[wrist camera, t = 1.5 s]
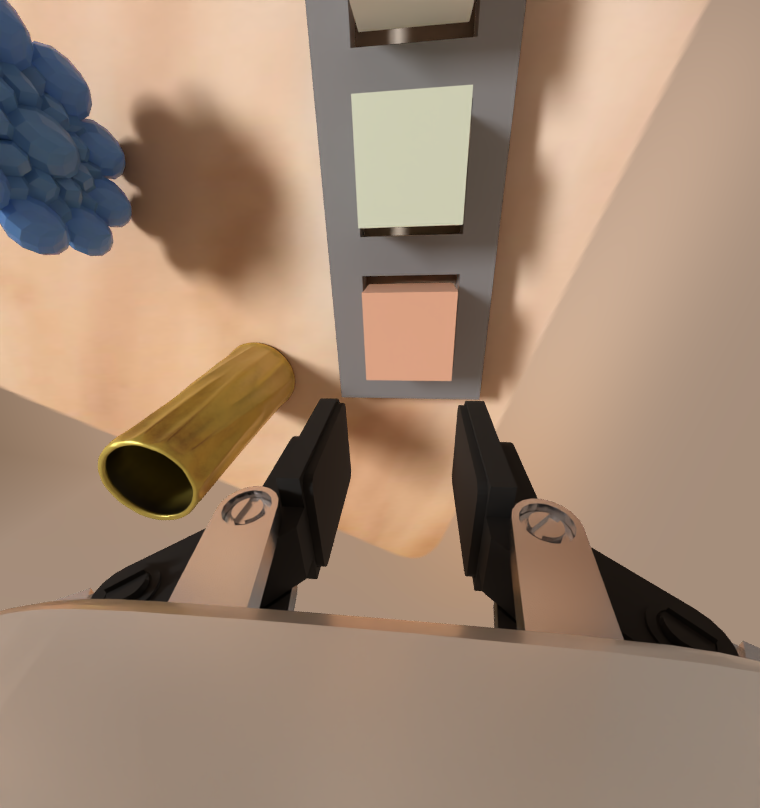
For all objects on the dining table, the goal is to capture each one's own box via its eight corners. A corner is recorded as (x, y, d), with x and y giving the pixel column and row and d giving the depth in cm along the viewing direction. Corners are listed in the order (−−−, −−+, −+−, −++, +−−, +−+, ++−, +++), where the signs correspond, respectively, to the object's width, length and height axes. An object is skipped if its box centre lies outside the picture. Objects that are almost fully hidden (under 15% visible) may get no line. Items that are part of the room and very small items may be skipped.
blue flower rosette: (26, 34, 20) (-391, -173, 10) (134, 48, 20) (-173, -147, 10) (82, 244, 26) (-148, 255, 15) (167, 257, 26) (-6, 277, 15)
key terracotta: (369, 284, 23) (361, 293, 20) (452, 282, 23) (458, 291, 19) (372, 361, 26) (366, 380, 23) (447, 361, 25) (451, 380, 22)
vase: (303, 358, 29) (213, 461, 16) (286, 415, 31) (199, 541, 19) (234, 330, 28) (84, 414, 15) (223, 391, 31) (89, 504, 18)
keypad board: (296, -204, 16) (278, -269, 14) (545, -246, 14) (565, -323, 12) (346, 387, 29) (341, 398, 27) (475, 388, 28) (479, 401, 26)
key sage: (362, 116, 19) (351, 93, 16) (463, 109, 18) (473, 84, 15) (366, 228, 22) (358, 228, 18) (456, 225, 21) (462, 224, 18)
